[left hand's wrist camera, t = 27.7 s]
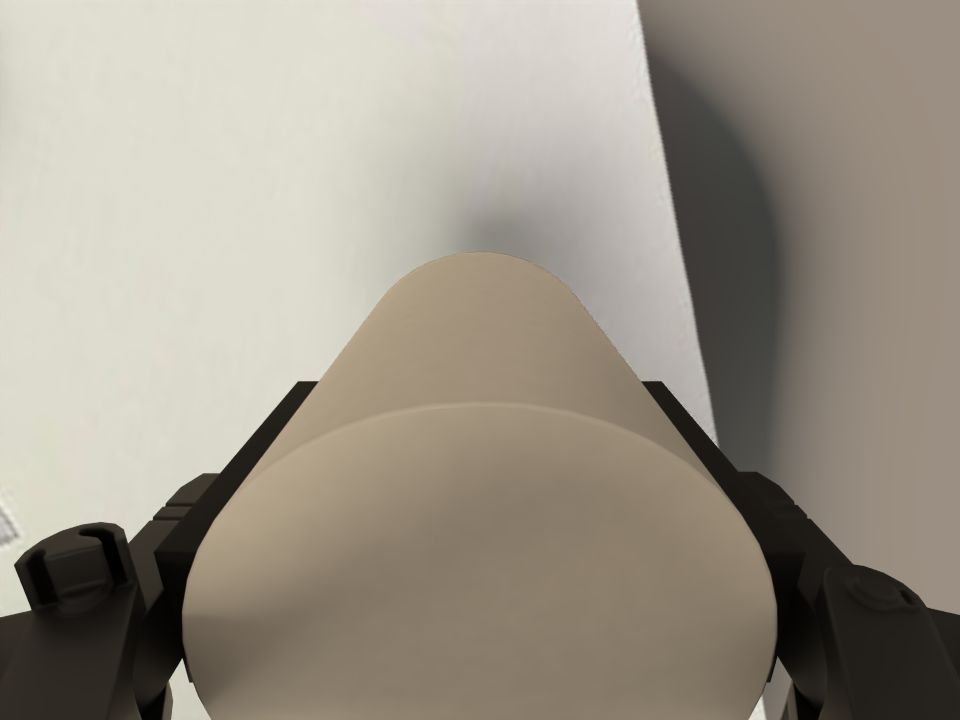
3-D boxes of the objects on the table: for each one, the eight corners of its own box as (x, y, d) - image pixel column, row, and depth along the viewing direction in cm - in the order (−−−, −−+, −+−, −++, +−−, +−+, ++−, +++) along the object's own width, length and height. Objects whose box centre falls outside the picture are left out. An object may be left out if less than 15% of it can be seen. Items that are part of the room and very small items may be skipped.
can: (461, 513, 20) (440, 903, 9) (308, 354, 17) (52, 631, 7) (646, 391, 18) (879, 703, 7) (503, 195, 15) (548, 251, 5)
